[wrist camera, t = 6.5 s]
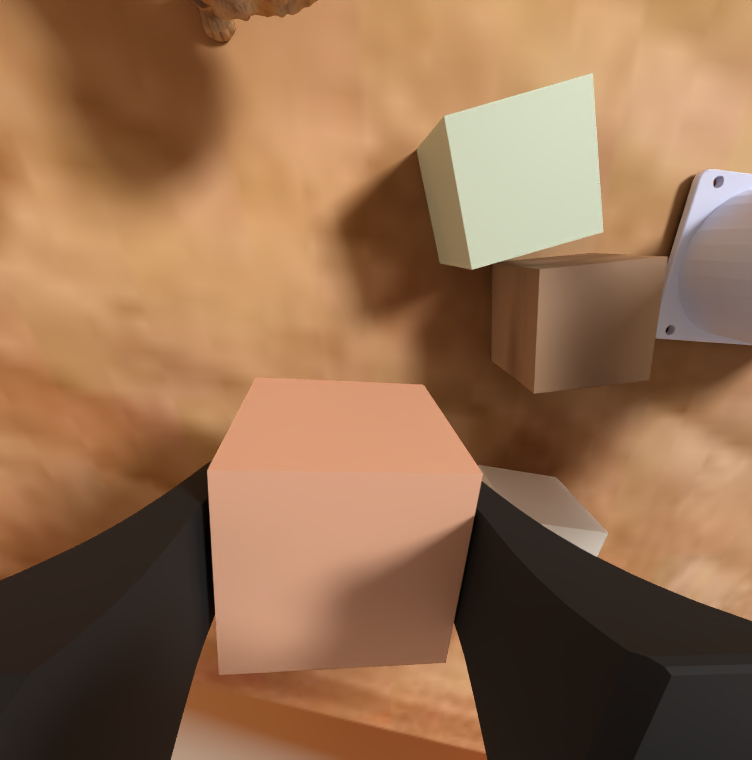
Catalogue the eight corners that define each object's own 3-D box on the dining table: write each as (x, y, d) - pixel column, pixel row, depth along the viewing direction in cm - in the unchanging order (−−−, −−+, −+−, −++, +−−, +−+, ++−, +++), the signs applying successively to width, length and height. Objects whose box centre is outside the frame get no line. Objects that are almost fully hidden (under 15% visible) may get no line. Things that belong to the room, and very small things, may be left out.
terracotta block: (423, 384, 12) (482, 474, 8) (405, 519, 14) (445, 663, 9) (256, 377, 12) (206, 470, 7) (257, 520, 13) (218, 675, 8)
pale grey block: (555, 476, 24) (608, 533, 19) (527, 543, 26) (570, 611, 21) (477, 464, 23) (513, 520, 19) (454, 533, 25) (481, 601, 20)
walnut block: (589, 253, 20) (667, 256, 15) (581, 349, 21) (649, 380, 17) (491, 262, 20) (539, 269, 15) (490, 360, 21) (533, 393, 16)
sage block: (524, 118, 18) (592, 72, 13) (538, 234, 19) (603, 231, 15) (415, 149, 18) (444, 116, 13) (439, 263, 19) (471, 269, 15)
